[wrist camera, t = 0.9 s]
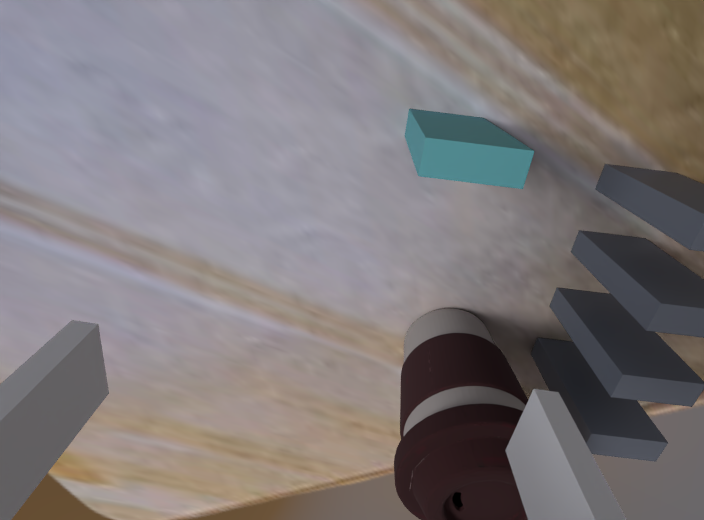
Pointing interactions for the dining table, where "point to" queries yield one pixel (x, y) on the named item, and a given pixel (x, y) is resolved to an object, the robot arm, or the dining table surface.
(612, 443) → the domino
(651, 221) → the domino
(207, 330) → the dining table surface
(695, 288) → the domino
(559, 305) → the domino
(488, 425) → the coffee cup
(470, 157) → the domino
